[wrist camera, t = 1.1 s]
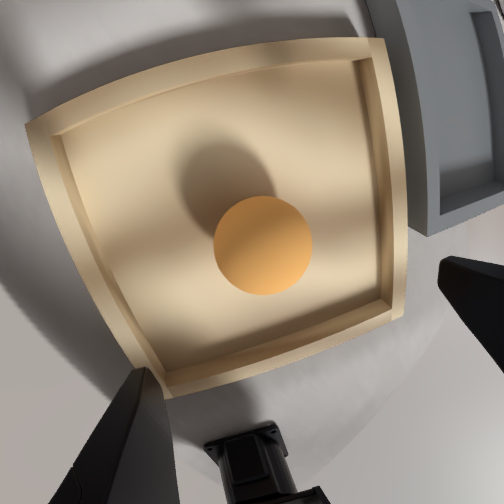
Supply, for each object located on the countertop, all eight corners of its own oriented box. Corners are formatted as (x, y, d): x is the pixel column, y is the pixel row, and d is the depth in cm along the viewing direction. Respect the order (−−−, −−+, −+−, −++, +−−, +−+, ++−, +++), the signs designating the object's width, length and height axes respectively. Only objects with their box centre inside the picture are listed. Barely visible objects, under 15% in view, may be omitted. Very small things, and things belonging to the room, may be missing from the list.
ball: (298, 253, 15) (333, 294, 12) (222, 278, 15) (237, 328, 11) (284, 177, 13) (322, 198, 10) (198, 201, 13) (205, 232, 9)
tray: (494, 188, 18) (517, 197, 16) (401, 222, 17) (427, 236, 14) (471, 5, 11) (494, 2, 9) (356, -24, 10) (381, -39, 8)
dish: (388, 300, 19) (403, 314, 17) (158, 380, 17) (158, 401, 16) (363, 44, 12) (383, 38, 10) (42, 123, 10) (24, 124, 9)
